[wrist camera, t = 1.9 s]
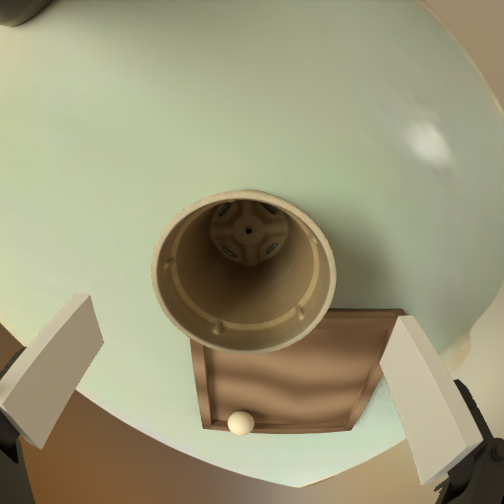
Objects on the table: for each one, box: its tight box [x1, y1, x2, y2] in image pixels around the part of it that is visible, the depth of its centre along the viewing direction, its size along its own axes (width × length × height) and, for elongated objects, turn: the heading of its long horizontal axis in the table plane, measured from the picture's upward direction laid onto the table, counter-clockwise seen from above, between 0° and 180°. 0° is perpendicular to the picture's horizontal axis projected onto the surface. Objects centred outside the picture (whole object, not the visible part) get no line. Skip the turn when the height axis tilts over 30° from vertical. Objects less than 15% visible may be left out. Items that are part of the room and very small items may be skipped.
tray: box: [190, 309, 406, 434], centre depth 28 cm, size 20×20×2 cm
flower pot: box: [151, 189, 337, 355], centre depth 18 cm, size 9×9×9 cm
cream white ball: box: [228, 411, 254, 435], centre depth 29 cm, size 3×3×3 cm
